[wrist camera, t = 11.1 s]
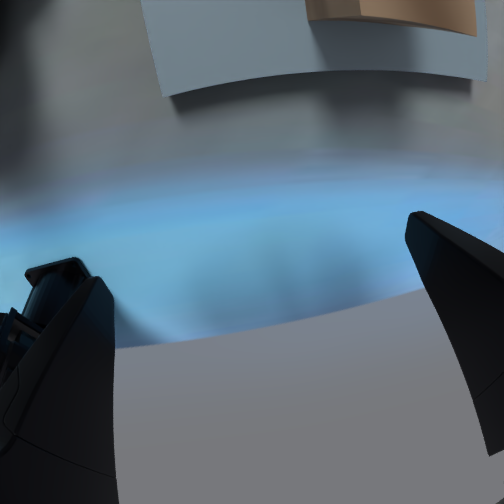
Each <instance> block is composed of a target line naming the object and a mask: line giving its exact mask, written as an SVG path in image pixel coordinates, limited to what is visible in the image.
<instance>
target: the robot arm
mask: <svg viewBox="0 0 504 504" xmlns="http://www.w3.org/2000/svg"><path fill="white" fill-rule="evenodd" d="M405 241H406V244H407V247H408V249H409V251H410V253H411V256H412V258H413V260H414V263H415V265H416V268H417V270H418V272H419V275H420V277H421V280H422V282H423V284H424V286H425V289H426V291H427V292H428V294H429V297H430V299H431V301H432V303H433V305H434V307H435V309H436V311H437V313H438V315H439V317H440V320H441V322H442V324H443V326H444V328H445V331H446V333H447V335H448V337H449V340H450V342H451V344H452V347H453V349H454V352H455V354H456V356H457V359H458V361H459V364H460V367H461V369H462V372H463V374H464V377H465V380H466V383H467V385H468V388H469V391H470V394H471V397H472V399H473V403H474V407H475V409H476V413H477V416H478V419H479V422H480V426H481V430H482V433H483V437H484V441H485V444H486V449H487V452H488V455H489V456H491V455H494V454H496V453H498V452H500V451H502V450H504V253H503V252H501V251H499V250H498V249H496V248H494V247H492V246H491V245H489V244H487V243H485V242H483V241H481V240H480V239H478V238H476V237H474V236H472V235H470V234H468V233H466V232H464V231H463V230H461V229H459V228H457V227H455V226H453V225H451V224H449V223H447V222H445V221H443V220H441V219H438V218H436V217H434V216H432V215H430V214H428V213H426V212H424V211H417V212H412V213H410V215H409V217H408V222H407V227H406V232H405ZM74 263H75V264H74ZM25 277H26V279H27V280H28V281H29V283H30V284H31V285H32V287H33V288H32V290H31V292H30V295H29V297H28V299H27V302H26V304H25V307H24V309H23V312H22V314H20V313H18V312H17V310H16V309H14V308H13V307H12V308H11V310H10V312H9V314H8V313H0V504H119V499H118V490H117V480H116V470H115V455H114V434H113V383H114V357H115V329H114V298H113V296H112V294H111V292H110V291H109V289H108V287H107V286H106V284H105V283H104V281H103V280H102V278H101V277H99V276H95V277H91V278H90V276H89V275H88V273H87V272H86V270H85V269H84V267H83V265H82V264H81V262H80V261H79V259H77V258H75V257H72V258H68V259H64V260H60V261H56V262H53V263H49V264H45V265H41V266H38V267H34V268H30V269H27V270H26V272H25ZM496 504H504V498H503V499H502V500H500V501H499V502H498V503H496Z"/></svg>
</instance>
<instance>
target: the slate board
mask: <svg viewBox="0 0 504 504" xmlns="http://www.w3.org/2000/svg"><path fill="white" fill-rule="evenodd" d="M140 1H141V6H142V11H143V15H144V20H145V25H146V29H147V34H148V38H149V43H150V47H151V51H152V55H153V60H154V64H155V68H156V72H157V76H158V80H159V84H160V88H161V92H162V96H163V97H167V96H171V95H174V94H178V93H182V92H186V91H191V90H195V89H199V88H204V87H208V86H213V85H218V84H223V83H229V82H234V81H240V80H246V79H253V78H259V77H267V76H275V75H283V74H293V73H304V72H318V71H339V70H386V71H406V72H420V73H430V74H439V75H447V76H455V77H461V78H468V79H473V80H479V81H484V82H487V63H488V43H487V20H486V8H485V0H474V1H475V11H476V25H477V37H474V36H469V35H465V34H459V33H454V32H448V31H442V30H435V29H427V28H418V27H407V26H399V25H391V24H382V23H371V22H357V21H308V20H307V13H306V6H305V0H140Z"/></svg>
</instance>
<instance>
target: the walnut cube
mask: <svg viewBox="0 0 504 504" xmlns="http://www.w3.org/2000/svg"><path fill="white" fill-rule="evenodd" d="M305 6H306V13H307V20H308V21H357V22H371V23H382V24H391V25H399V26H407V27H418V28H427V29H435V30H442V31H448V32H454V33H459V34H465V35H469V36H474V37H477V25H476V11H475V1H474V0H305Z"/></svg>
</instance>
